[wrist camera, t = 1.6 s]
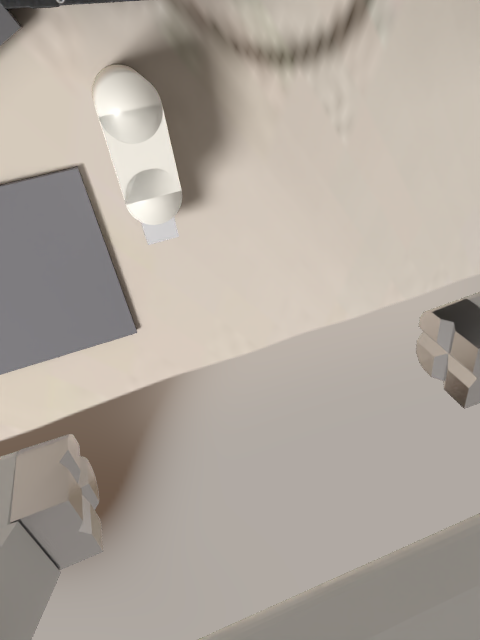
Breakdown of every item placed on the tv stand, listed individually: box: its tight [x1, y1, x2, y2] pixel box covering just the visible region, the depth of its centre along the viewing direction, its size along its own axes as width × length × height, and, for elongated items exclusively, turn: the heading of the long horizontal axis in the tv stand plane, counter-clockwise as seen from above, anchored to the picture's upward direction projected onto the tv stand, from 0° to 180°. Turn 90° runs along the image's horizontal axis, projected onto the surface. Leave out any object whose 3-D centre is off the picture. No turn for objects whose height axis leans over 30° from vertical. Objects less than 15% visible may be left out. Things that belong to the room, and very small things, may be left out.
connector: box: [92, 64, 182, 245], centre depth 28 cm, size 4×11×5 cm, turn 8°
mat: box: [0, 167, 137, 375], centre depth 33 cm, size 12×14×1 cm
